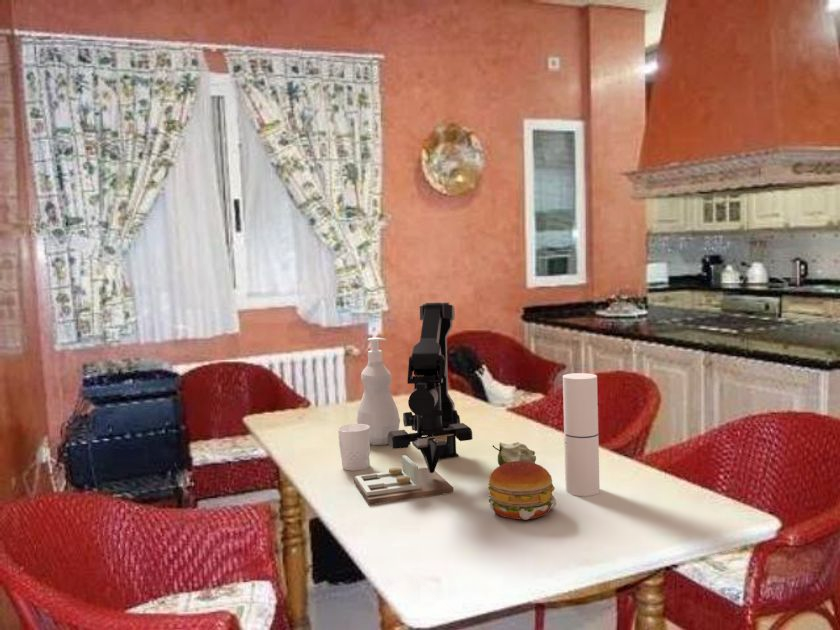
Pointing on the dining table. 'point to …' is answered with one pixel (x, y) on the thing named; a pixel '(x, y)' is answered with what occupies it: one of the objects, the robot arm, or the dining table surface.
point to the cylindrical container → (581, 434)
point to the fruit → (514, 453)
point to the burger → (521, 490)
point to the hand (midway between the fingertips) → (431, 472)
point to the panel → (391, 479)
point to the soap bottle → (377, 398)
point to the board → (428, 487)
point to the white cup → (354, 446)
